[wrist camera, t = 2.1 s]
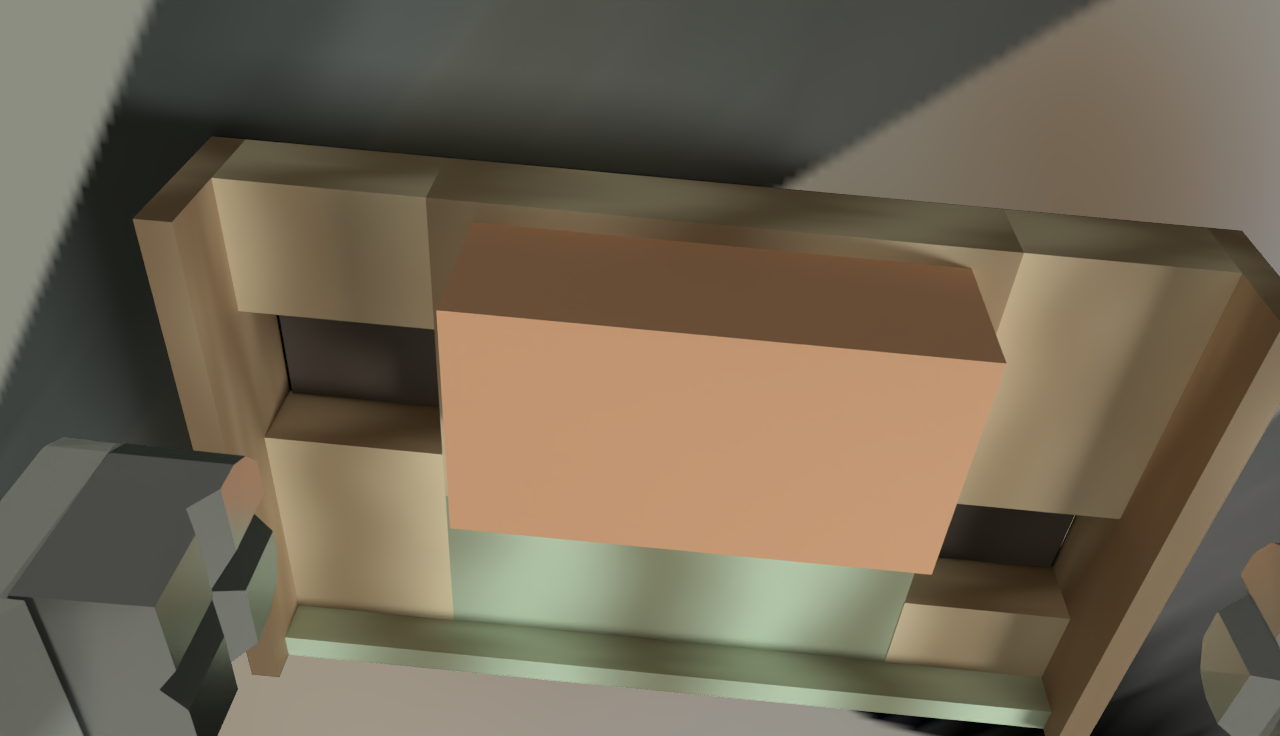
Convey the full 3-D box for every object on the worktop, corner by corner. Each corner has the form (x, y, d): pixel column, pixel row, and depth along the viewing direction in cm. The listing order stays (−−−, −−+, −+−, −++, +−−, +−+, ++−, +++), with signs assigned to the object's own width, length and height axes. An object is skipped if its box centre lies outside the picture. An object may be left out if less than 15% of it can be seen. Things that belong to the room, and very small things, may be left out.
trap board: (1241, 231, 24) (1323, 329, 20) (1043, 642, 33) (1078, 755, 29) (211, 136, 24) (132, 218, 21) (297, 570, 33) (252, 674, 30)
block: (971, 268, 22) (1006, 363, 20) (909, 470, 26) (931, 574, 23) (472, 222, 22) (436, 310, 20) (479, 429, 26) (450, 528, 23)
